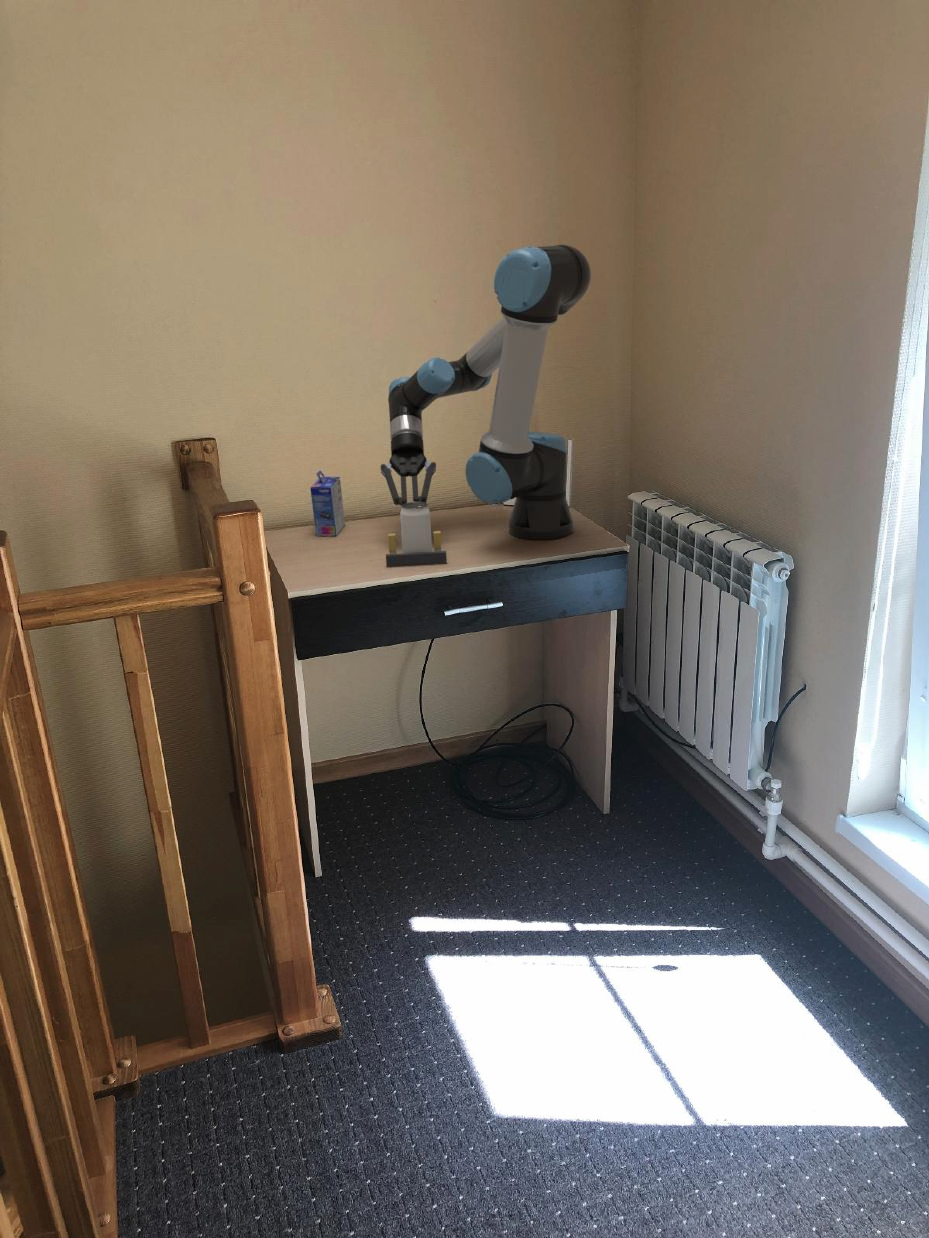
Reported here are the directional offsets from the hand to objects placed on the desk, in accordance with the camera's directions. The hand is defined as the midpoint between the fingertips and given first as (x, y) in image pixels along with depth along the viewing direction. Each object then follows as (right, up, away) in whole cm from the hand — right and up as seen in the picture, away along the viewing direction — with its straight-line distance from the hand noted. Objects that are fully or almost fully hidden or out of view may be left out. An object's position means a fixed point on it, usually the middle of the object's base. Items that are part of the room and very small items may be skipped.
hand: (411, 530), depth 228 cm
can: (+1, -6, -2) cm, 7 cm away
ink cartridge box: (-21, +1, +20) cm, 29 cm away
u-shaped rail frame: (+1, -4, +3) cm, 5 cm away
